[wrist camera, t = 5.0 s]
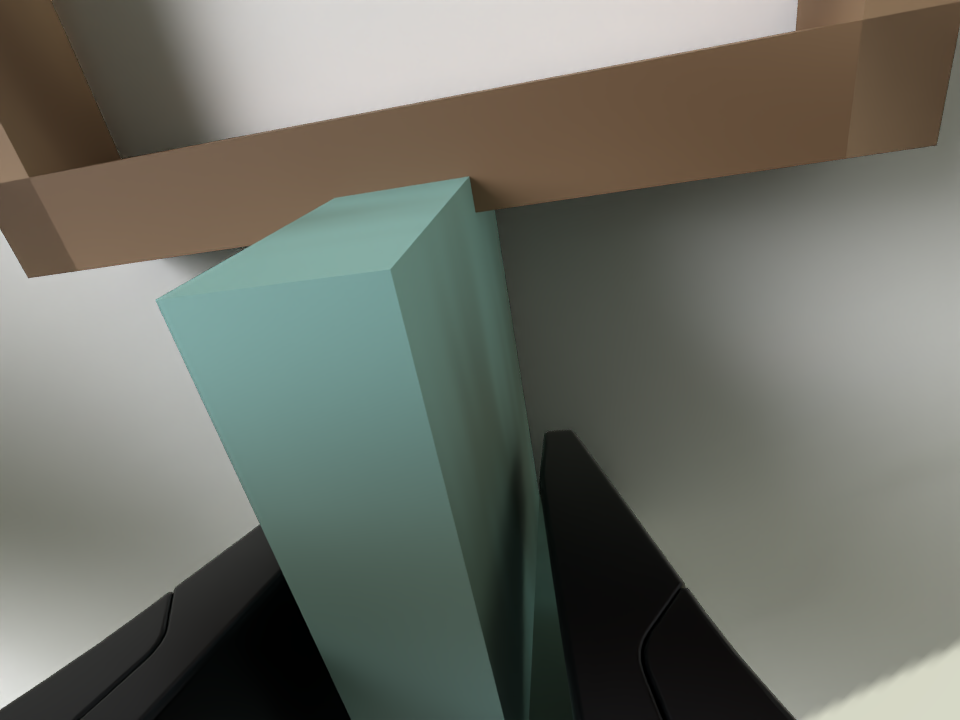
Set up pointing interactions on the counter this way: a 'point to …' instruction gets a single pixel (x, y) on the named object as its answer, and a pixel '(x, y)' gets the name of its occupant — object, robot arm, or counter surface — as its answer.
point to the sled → (422, 305)
